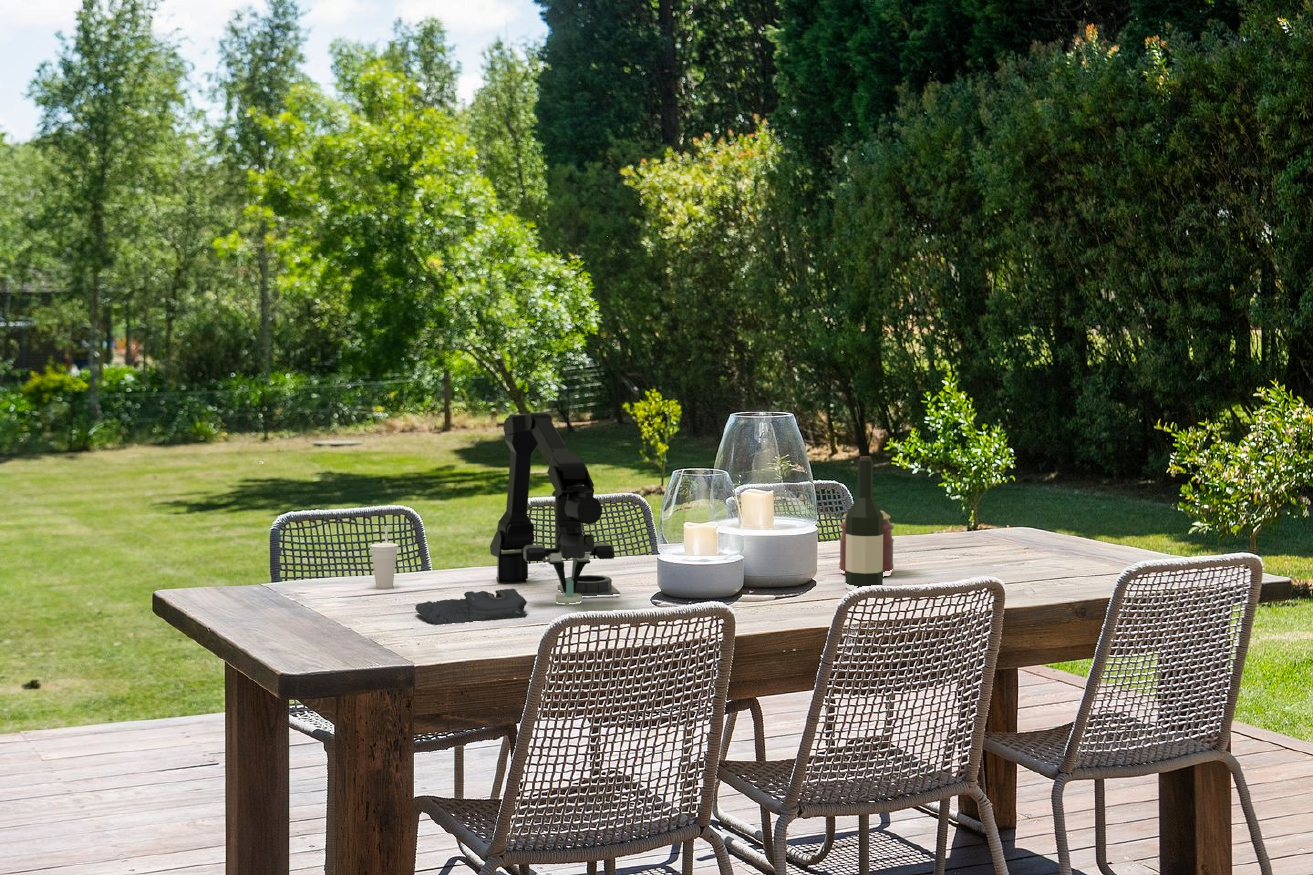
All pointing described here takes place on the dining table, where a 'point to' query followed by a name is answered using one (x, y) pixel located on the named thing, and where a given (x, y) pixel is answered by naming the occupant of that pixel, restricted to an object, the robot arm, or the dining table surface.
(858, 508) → the wine bottle
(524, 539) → the robot arm
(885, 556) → the canister
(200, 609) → the dining table surface
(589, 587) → the square ring flange
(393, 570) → the smoothie
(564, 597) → the cap
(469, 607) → the dark slate chunk
